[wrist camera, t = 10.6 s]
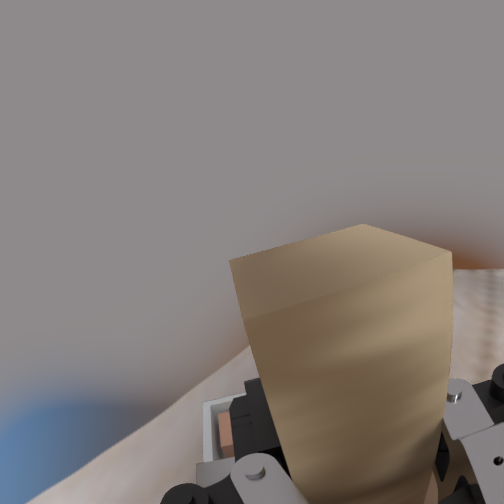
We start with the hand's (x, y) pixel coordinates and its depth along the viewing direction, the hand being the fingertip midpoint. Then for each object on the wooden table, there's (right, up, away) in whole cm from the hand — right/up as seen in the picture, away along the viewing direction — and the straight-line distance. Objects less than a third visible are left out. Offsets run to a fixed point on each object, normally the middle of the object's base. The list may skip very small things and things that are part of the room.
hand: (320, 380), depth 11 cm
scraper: (+2, -7, -1) cm, 7 cm away
